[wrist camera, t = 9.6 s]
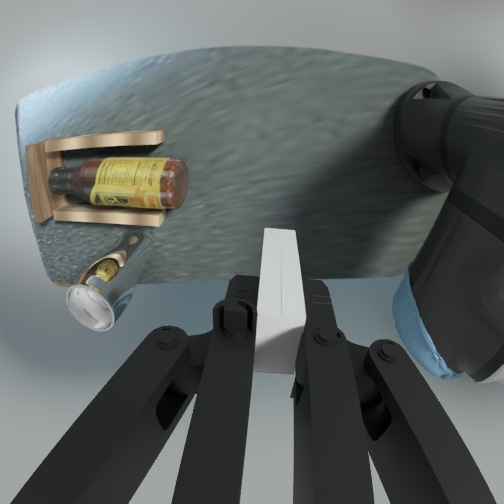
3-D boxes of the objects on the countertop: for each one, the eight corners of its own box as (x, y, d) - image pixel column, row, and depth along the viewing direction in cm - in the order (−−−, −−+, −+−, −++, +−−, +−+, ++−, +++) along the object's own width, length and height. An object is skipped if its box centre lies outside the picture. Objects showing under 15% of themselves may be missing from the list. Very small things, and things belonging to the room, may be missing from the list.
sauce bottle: (187, 209, 37) (70, 201, 38) (192, 160, 35) (72, 161, 37) (170, 212, 30) (42, 204, 32) (175, 154, 29) (45, 158, 30)
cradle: (164, 130, 33) (152, 133, 30) (166, 217, 39) (156, 229, 35) (41, 141, 34) (25, 146, 30) (50, 212, 39) (36, 222, 36)
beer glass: (121, 266, 43) (75, 328, 30) (113, 225, 40) (56, 280, 27) (161, 268, 43) (122, 337, 30) (155, 226, 39) (106, 286, 26)
